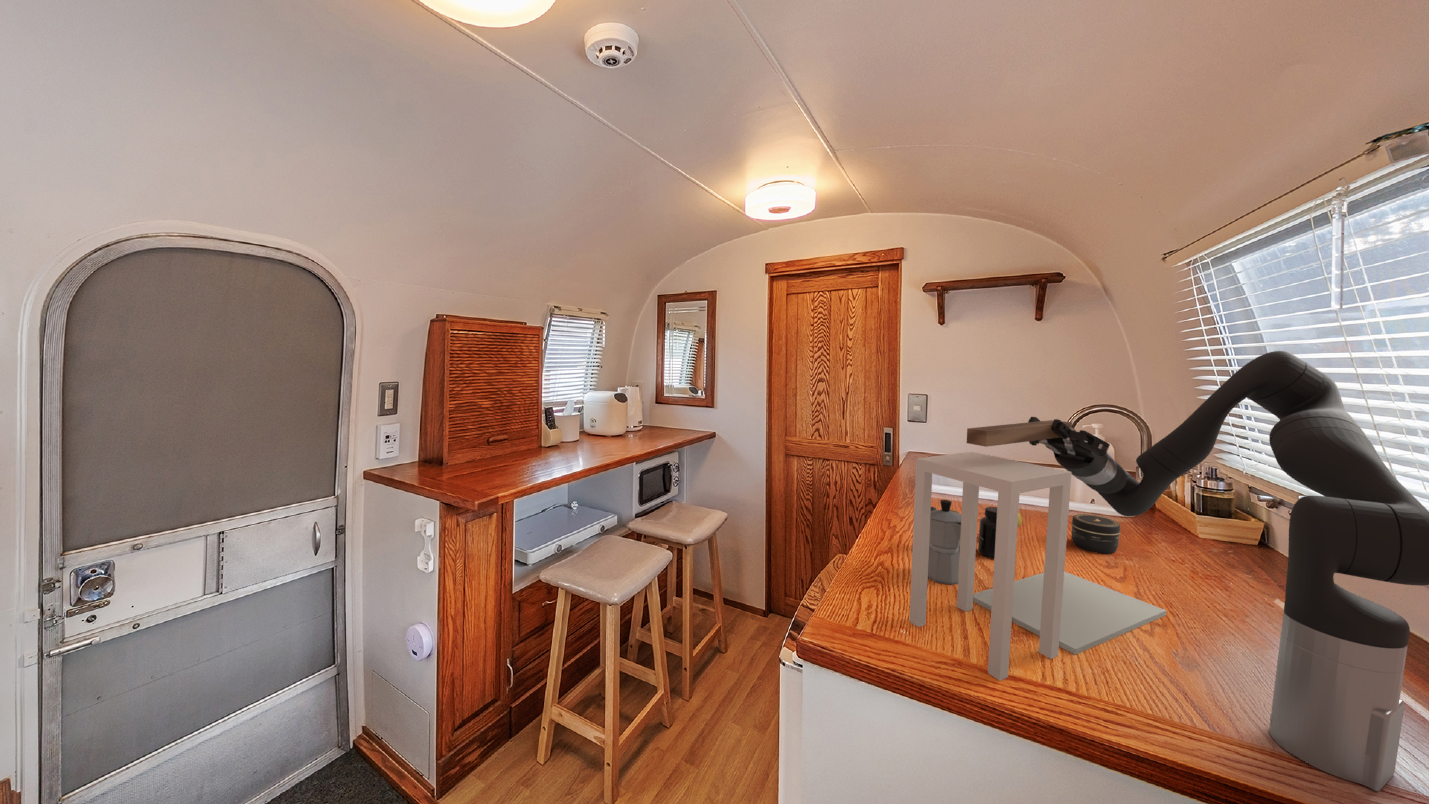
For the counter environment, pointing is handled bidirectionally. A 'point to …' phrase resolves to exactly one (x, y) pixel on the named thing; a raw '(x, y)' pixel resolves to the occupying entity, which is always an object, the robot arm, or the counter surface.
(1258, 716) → the counter surface
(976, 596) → the grey-green mat
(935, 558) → the coffee maker
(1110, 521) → the jar
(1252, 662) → the counter surface
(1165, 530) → the counter surface
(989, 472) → the grey table
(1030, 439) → the walnut bar
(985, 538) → the supplement bottle
